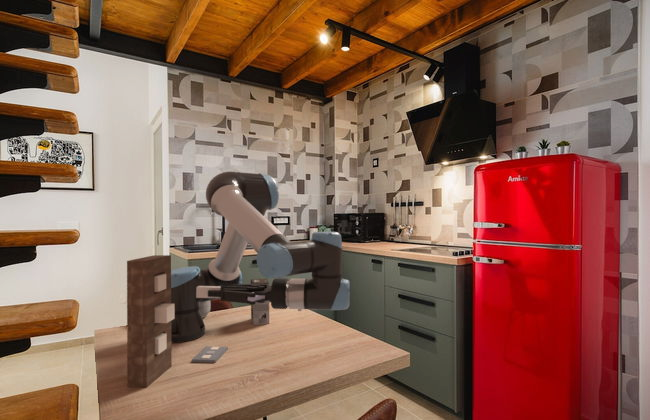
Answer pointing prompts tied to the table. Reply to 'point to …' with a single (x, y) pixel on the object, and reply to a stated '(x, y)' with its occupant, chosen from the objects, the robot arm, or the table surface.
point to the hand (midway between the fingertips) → (197, 291)
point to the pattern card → (210, 354)
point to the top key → (159, 282)
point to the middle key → (164, 313)
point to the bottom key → (160, 343)
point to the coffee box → (260, 307)
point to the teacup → (205, 308)
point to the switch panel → (146, 320)
